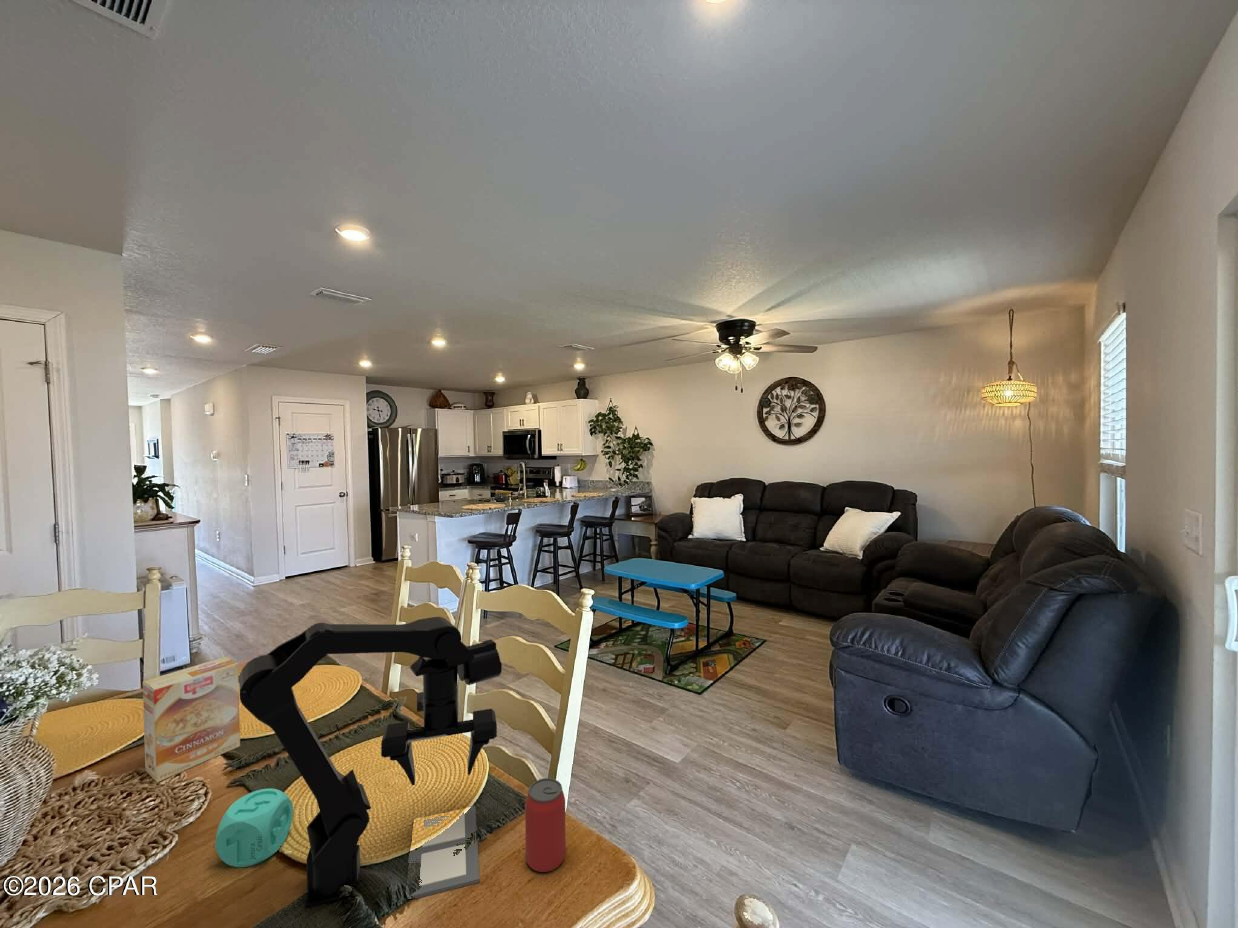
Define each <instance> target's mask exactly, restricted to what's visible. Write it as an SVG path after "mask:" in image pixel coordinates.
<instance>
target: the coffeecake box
mask: <svg viewBox="0 0 1238 928" xmlns="http://www.w3.org/2000/svg"><path fill="white" fill-rule="evenodd" d="M142 702H143V703H142V704H143V705H142V707H143V734H144V735H143V736H144V740H143V741H144V766H145V767H144V768H145V772H146V773H148V775H149V776H150V777H151V778H152V779H153V780H154V781H155V782H156V783H159V782H161V781H164V780H166V779H168V778H170V777H172V776H175V775H178V774H180V773H182V772H184V771H186V770H188V769H191V768H193V767H195V766H197V765H200V764H202V763H204V762H207V761H209V760H211V759H213V758H216V757H218V756H221V755H222V754H225V753H228V752H230V751H232V750H234V749H237V748H239V747H241V728H240V722H241V721H240V720H241V719H240V686H239V663H238V662H236V661H234V660H232V659H230V658H229V657H227V656H223V657H220V658H218V659H214V660H210V661H207V662H203V663H200V664H197V665H194V666H188V667H186V668H183V669H180V670H177V671H173V672H169V673H167V674H163V675H160V676H157V677H153V678H150V679H146V680H143V681H142Z"/></svg>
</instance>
